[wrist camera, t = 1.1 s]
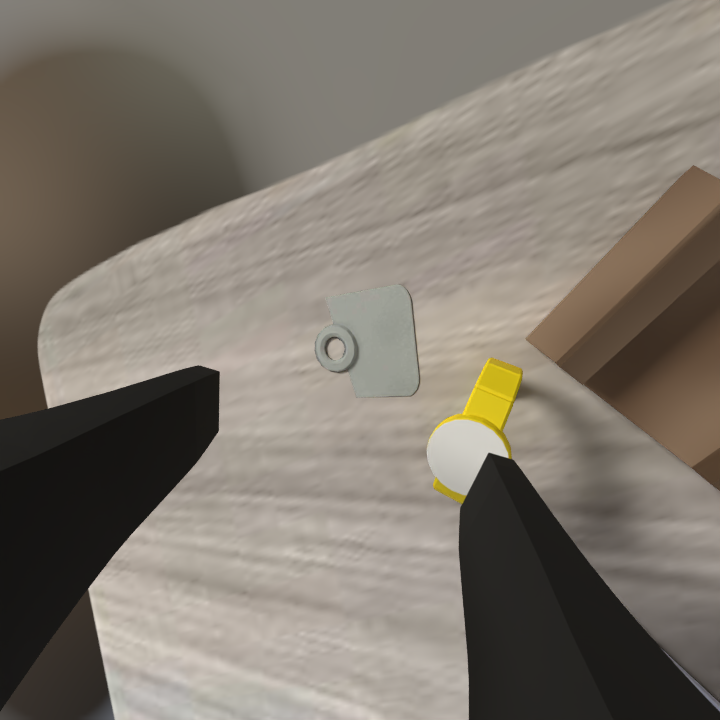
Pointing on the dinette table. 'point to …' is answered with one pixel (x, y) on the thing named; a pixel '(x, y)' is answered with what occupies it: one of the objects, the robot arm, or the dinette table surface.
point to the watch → (474, 431)
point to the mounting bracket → (373, 341)
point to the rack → (653, 324)
